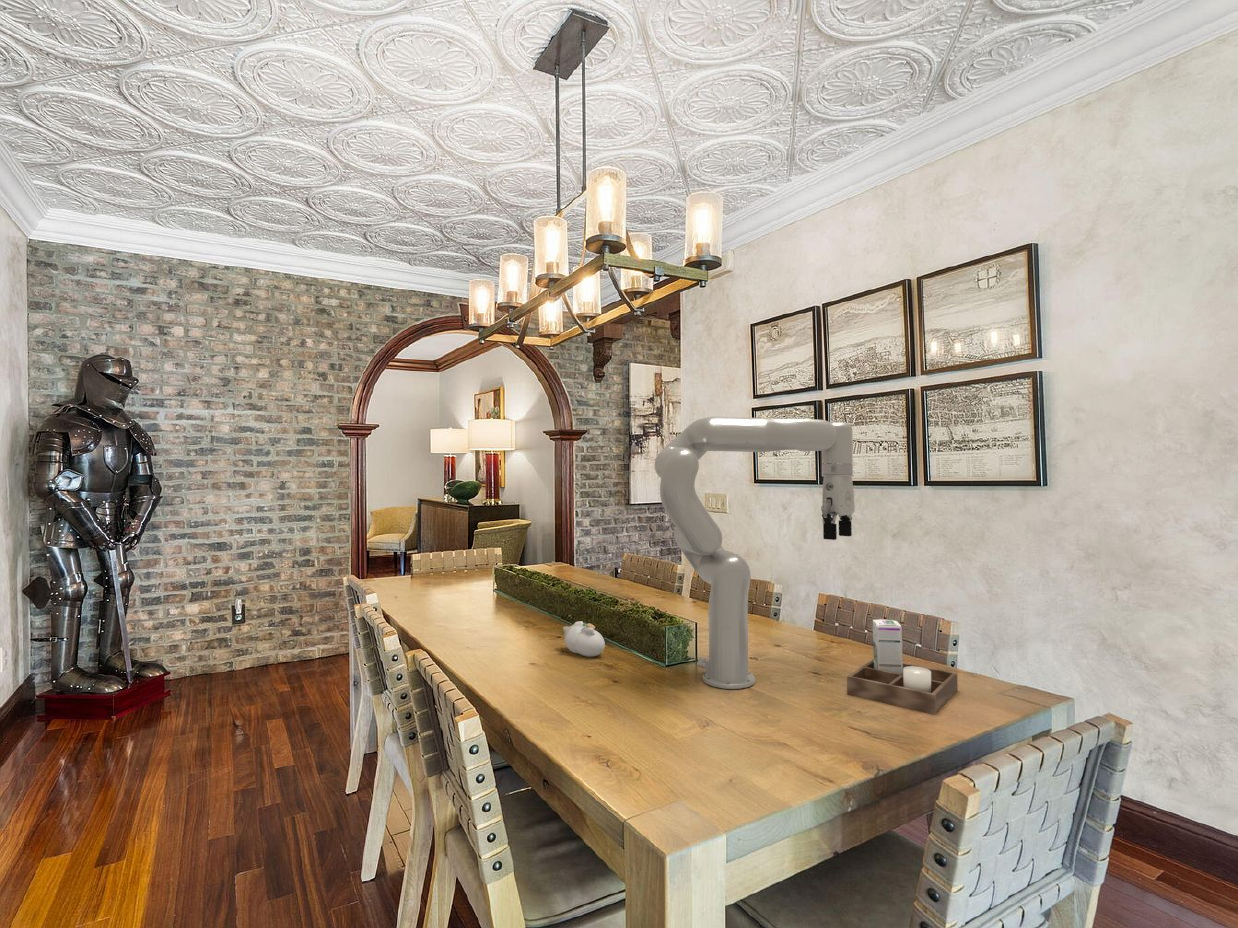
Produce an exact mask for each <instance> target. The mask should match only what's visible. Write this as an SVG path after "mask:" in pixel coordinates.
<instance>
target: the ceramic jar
mask: <svg viewBox="0 0 1238 928" xmlns="http://www.w3.org/2000/svg"><path fill="white" fill-rule="evenodd" d="M903 687H905V688H910V689H914V690H919V691H924V692H929V693H931V671H930V670H929V669H926V668H922V667H916V666H908V667H904V668H903Z"/></svg>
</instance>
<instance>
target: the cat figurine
mask: <svg viewBox="0 0 1238 928" xmlns="http://www.w3.org/2000/svg"><path fill="white" fill-rule="evenodd" d="M595 629H596V626H595V625H593V624H592V623H590V622H589V623H587V622H583V620H581V621H579V620H578V621H575V622H574V623H573V624H571V625H570V626H562V630H563V633H564V636H563V637H564V638H563V639H564V644H565V646H566V647H567V649H569V651H570V652H572V653H574V654H579V655H581V656H584V657H587V658H590V657H595V656H599V655H600V654H602V653H603V652H604V650H605V647H606V643H605V639H604V637H603V635H602V634H601V633H600V632H598V631H597V630H595Z"/></svg>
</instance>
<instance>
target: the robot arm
mask: <svg viewBox="0 0 1238 928" xmlns="http://www.w3.org/2000/svg"><path fill="white" fill-rule="evenodd" d="M795 450H797V451H800V452H818V451H821V477H823V481H822V494H821V495H822V497H821V508H820V510H821V513H822V514H821V517H822V524H823V525H822V530H823V533H822V538H823V539H824V540H833V541H835V540H837V538H838V537H837V533H838V535H839V536H840V537H851V536H852V535H853V533H852V520H853V517H852V515H853V514H854V513H855V509H856V508H855V494H854V492H855V491H854V484H853V483H854V482H853V478H852V477H854V475H853V473H854V472H853V470H854V469H853V464H854V463H853V458H854V457H853V427H852V425H851V424H850V423H849V422H841V421H840V422H830V421H828V420H825V419H813V418H812V419H809V418H808V419H804V418H803V419H802V418H772V417H741V416H740V417H738V416H735V417H734V416H708V417H703V418H699V419H695V421H693V422H691V423H690V424H689V425H688V426H686V428H685V429H684V430H683V431H681V432H680V433H678V435H677V436H675V438H674V439H672V441H670V442H669V443H668V444H667V445H666V446H665V447H664V448H663V449H662V450H660V452H659V453H658V454H657V456H656V457H655V460H654V470H655V473H656V474H657V476H658V477H659V478H660V484H659V494H660V496H659V497H660V500H661V505H662V507H663V509H664V511H665V512H666V514H667V516H668V517H669V519H670V521H671V522H672V524H673V526H674V530H673V535H674V537H673V538H674V540H675V542H676V545H677V547H678V548H679V549H680V551H681V552H682V554H683V556H684V557H685V559H686V560H687V562H688V563H689V564H690V565H691V567H692V568H693V570H694V571H695V572H696V574H697V575H698V576H699V577H700V578H701V579H702V581H704V582H705V583H707V584H709V585H710V586H711V587H710V593H709V598H708V611H707V612H708V658H706V657H702V656H699V657H698V658H697V663H696V666H697V667H698V668H702V669H704V671H705V672H704V673H703V674H702V680H703V682H704V683H705V684H707V685H709V686H711V687H715V688H719V689H727V690H728V689H729V690H737V689H738V690H740V689H745V688H748V687H751V686H753V685H754V684H755V683H756V678H755V676H754V674H753V673H751V672H749V625H748V624H749V622H748V621H749V620H748V619H749V618H748V617H749V615H748V613H749V611H748V609H749V607H748V606H749V603H748V602H749V592H750V587H751V578H752V577H751V569H750V566H749V564H748V563H747V561H746V559H744V558H743V557H742V556H741V555H740V554H737V553H735V552H732V551H729V550H727V549H726V550H725V549H724V547H723V546H722V545H723V533H722V531H721V529H720V527H719V525H718V524H717V523H716V521H715V520H714V519H713V517H712V516H711V514H710V513H709V512H708V510H707V509H706V507H705V506H704V504H703V503H702V501H701V499H700V498H699V496H698V495H697V492H696V488H695V487H696V486H695V482H696V477H697V474H698V472H699V467H700V462H699V460H700V459H701V458H703V456H704V455H706V453H708V452H736V453H737V452H744V453H747V452H748V453H749V452H750V453H766V452H767V453H768V452H776V451H795ZM838 516H839V520H838V531H837V523H836V520H837V517H838Z"/></svg>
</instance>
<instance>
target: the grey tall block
mask: <svg viewBox="0 0 1238 928" xmlns="http://www.w3.org/2000/svg"><path fill="white" fill-rule="evenodd" d="M902 631H903V630H902V625H901V624H900V623H899V622H898V620H895V619H887V618H886V619H885V618H884V619H881V618H880V619H872V644H873V645H872V648H873V650H872V651H873V659H874V669H879V670H884V671H889V672H894V673H899V674H902V673H903V663H904V662H903V655H904V654H903V636H902V635H903V632H902Z"/></svg>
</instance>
